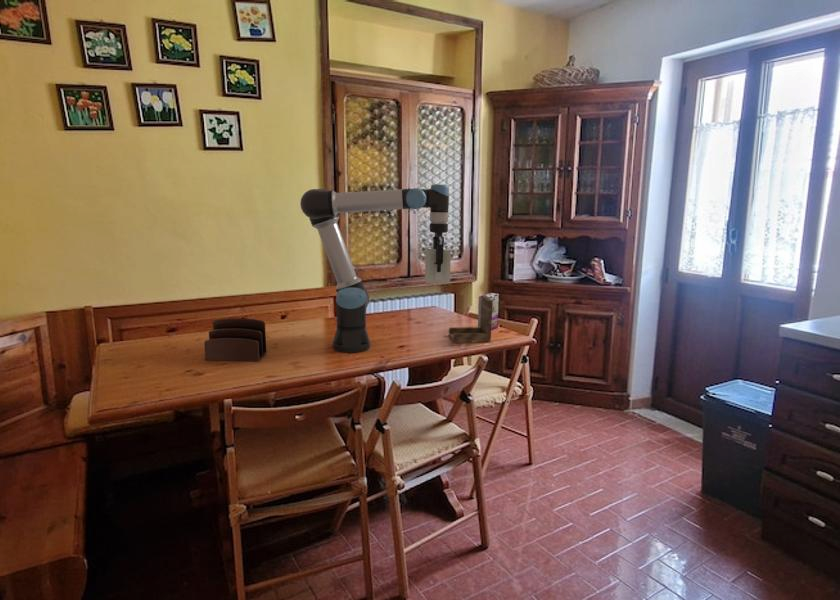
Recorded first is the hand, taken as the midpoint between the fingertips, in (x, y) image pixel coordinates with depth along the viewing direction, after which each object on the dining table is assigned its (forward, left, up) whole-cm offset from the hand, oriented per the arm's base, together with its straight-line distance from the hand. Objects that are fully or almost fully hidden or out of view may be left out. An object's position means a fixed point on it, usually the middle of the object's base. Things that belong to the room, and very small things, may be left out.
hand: (437, 278), depth 214 cm
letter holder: (-79, -20, -27) cm, 85 cm away
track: (+15, 0, -27) cm, 31 cm away
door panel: (0, 0, -2) cm, 2 cm away
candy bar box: (+27, +15, -27) cm, 41 cm away
